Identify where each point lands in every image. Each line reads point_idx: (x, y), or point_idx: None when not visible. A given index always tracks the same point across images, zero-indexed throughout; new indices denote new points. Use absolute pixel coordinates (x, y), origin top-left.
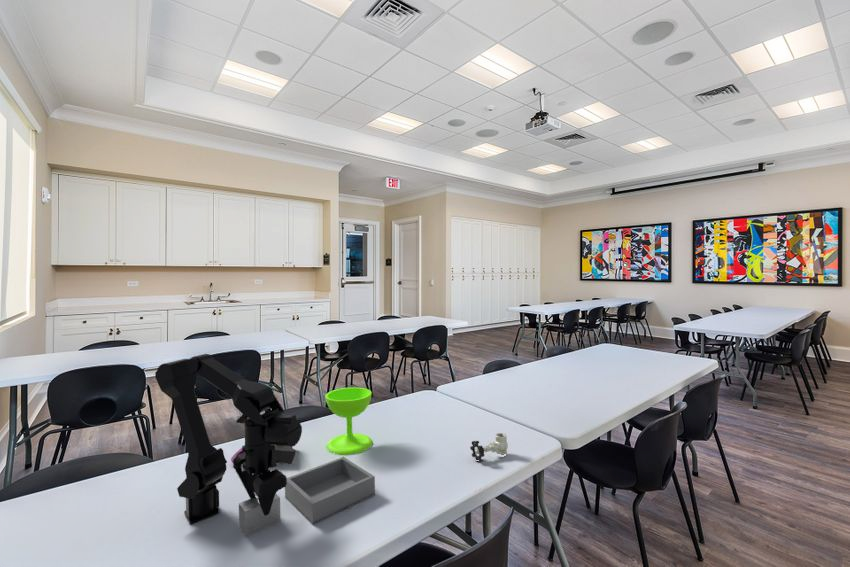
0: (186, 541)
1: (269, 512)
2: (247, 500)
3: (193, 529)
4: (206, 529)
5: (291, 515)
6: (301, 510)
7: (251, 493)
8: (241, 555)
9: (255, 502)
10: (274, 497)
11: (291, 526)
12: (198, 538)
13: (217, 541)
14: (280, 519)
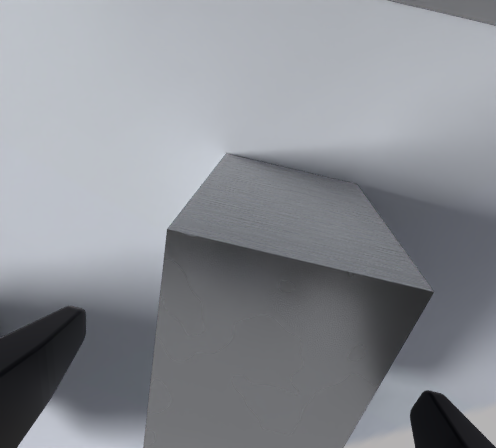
0: (112, 443)
1: (450, 404)
2: (152, 445)
3: (49, 406)
4: (87, 388)
5: (376, 87)
6: (466, 8)
7: (51, 374)
8: (388, 417)
9: (249, 441)
10: (360, 325)
11: (480, 177)
12: (127, 423)
13: None
14: (360, 189)
